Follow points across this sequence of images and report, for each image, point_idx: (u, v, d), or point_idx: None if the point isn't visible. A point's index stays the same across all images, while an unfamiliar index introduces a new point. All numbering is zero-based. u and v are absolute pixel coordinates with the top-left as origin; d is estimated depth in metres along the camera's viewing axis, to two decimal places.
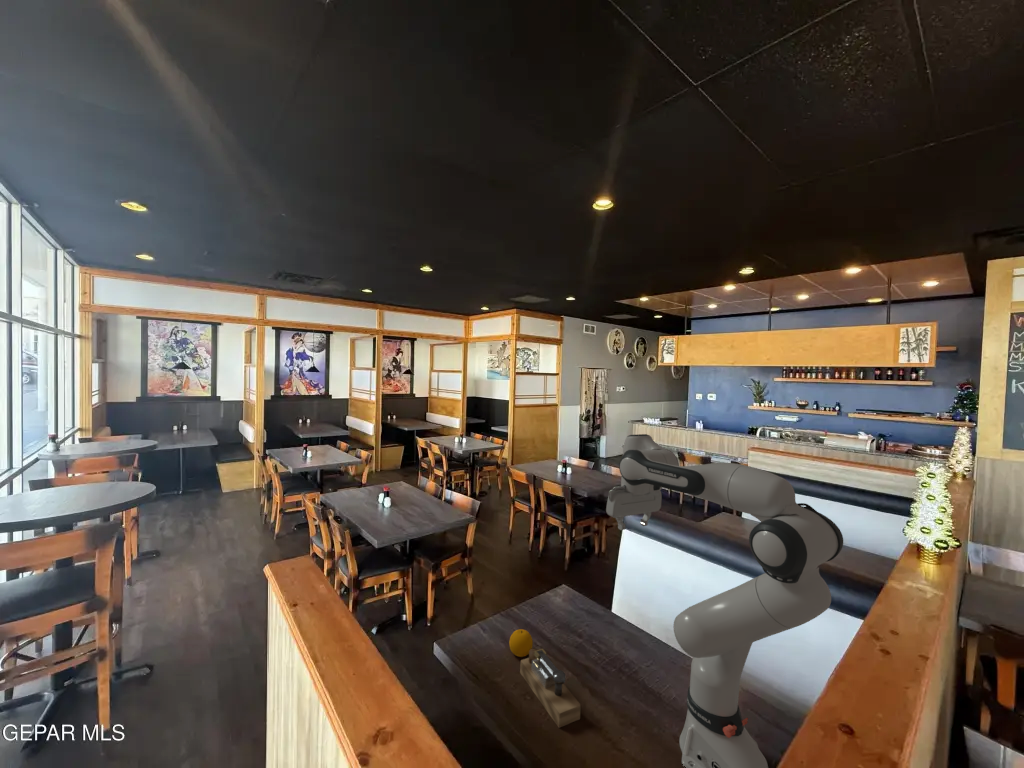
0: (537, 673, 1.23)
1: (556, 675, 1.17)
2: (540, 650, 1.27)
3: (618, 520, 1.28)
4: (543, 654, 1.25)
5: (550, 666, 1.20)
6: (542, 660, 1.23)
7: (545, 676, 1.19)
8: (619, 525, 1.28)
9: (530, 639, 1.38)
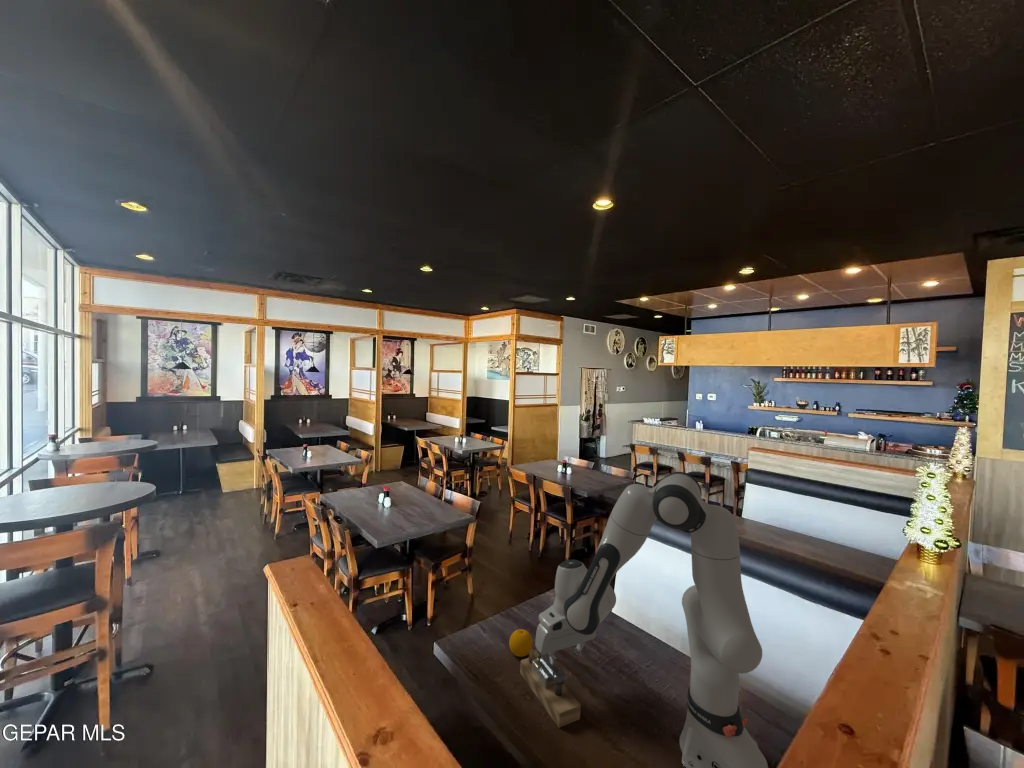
0: (537, 673, 1.23)
1: (556, 675, 1.17)
2: None
3: None
4: None
5: (550, 666, 1.20)
6: (542, 660, 1.23)
7: (545, 676, 1.19)
8: None
9: (530, 639, 1.38)
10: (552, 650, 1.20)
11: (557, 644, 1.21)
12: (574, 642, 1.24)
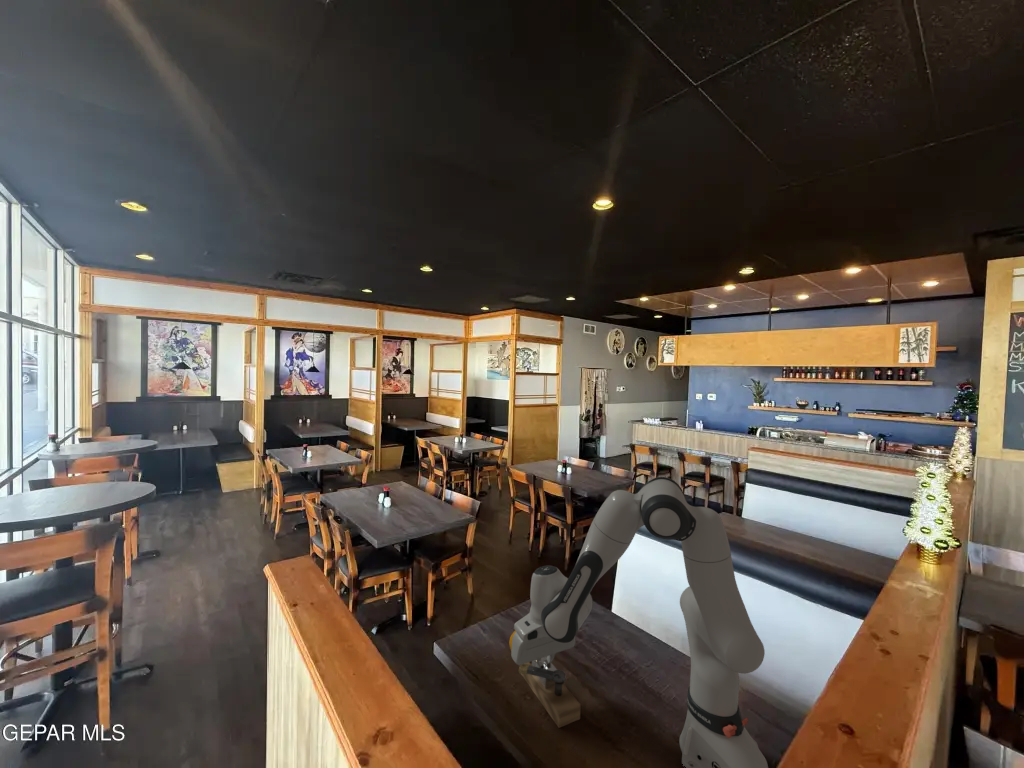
0: None
1: (558, 676, 1.16)
2: (522, 664, 1.20)
3: None
4: (528, 666, 1.20)
5: (545, 672, 1.18)
6: (532, 672, 1.18)
7: None
8: None
9: None
10: (528, 660, 1.17)
11: (533, 654, 1.17)
12: (552, 651, 1.20)
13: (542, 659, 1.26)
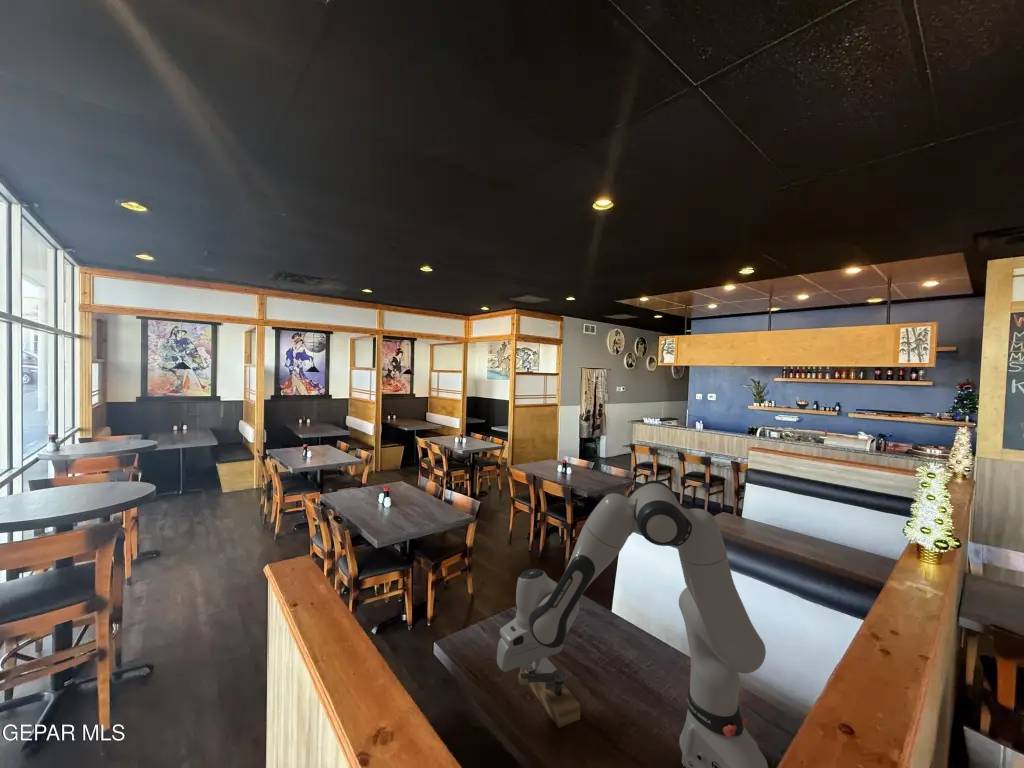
0: None
1: (559, 676, 1.16)
2: (520, 675, 1.16)
3: None
4: (527, 675, 1.16)
5: (546, 676, 1.16)
6: (533, 680, 1.15)
7: None
8: None
9: None
10: (514, 666, 1.14)
11: (519, 660, 1.15)
12: (539, 656, 1.18)
13: (542, 659, 1.26)
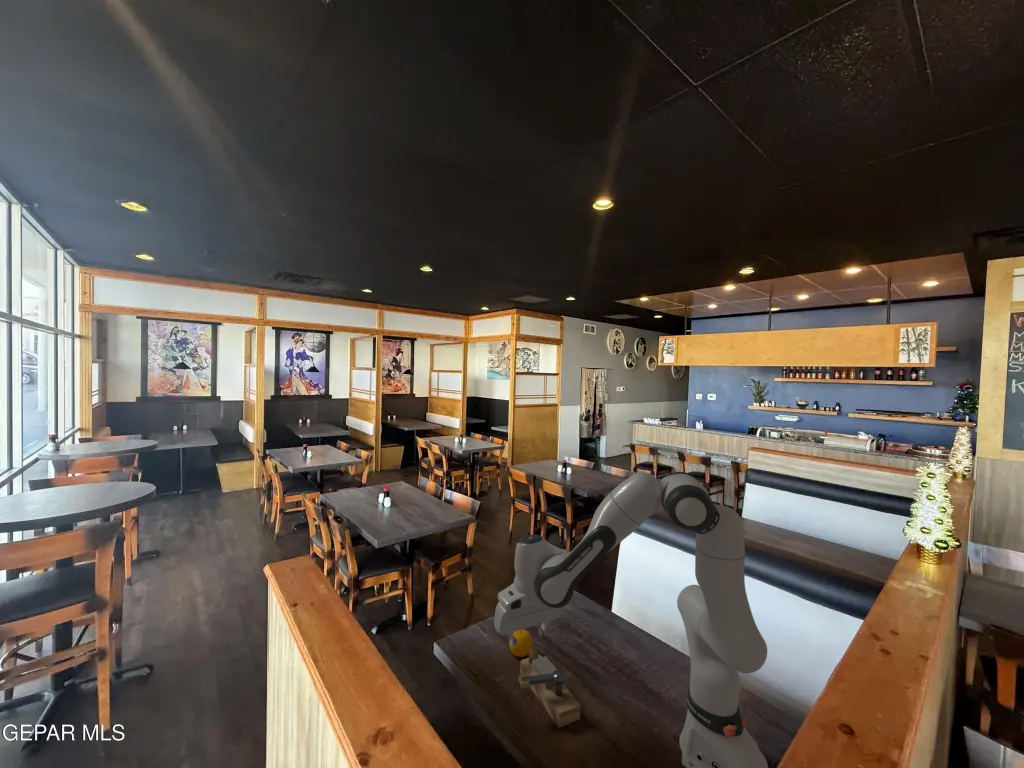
0: (537, 673, 1.23)
1: (560, 676, 1.16)
2: (521, 678, 1.15)
3: None
4: (528, 677, 1.15)
5: (546, 677, 1.16)
6: (534, 682, 1.15)
7: None
8: None
9: (530, 639, 1.38)
10: (512, 630, 1.13)
11: (517, 624, 1.14)
12: (537, 621, 1.17)
13: (542, 659, 1.26)
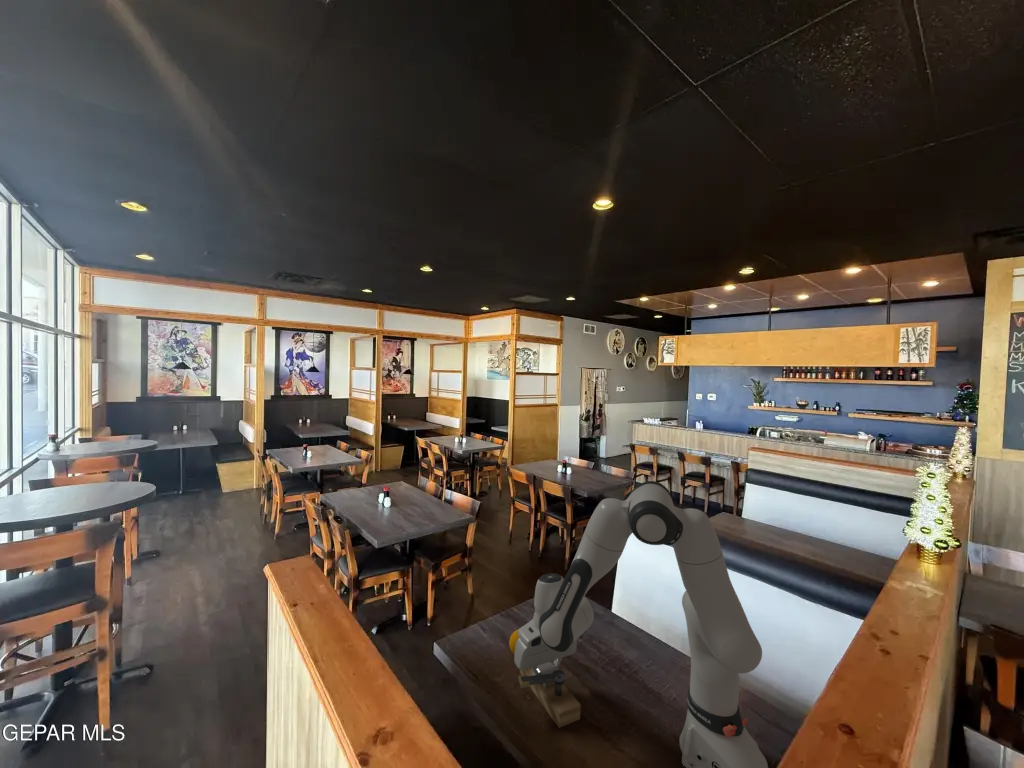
0: None
1: (560, 676, 1.16)
2: (521, 678, 1.15)
3: None
4: (528, 677, 1.15)
5: (546, 677, 1.16)
6: (534, 682, 1.15)
7: None
8: None
9: None
10: (531, 666, 1.19)
11: (536, 660, 1.19)
12: (554, 657, 1.22)
13: None
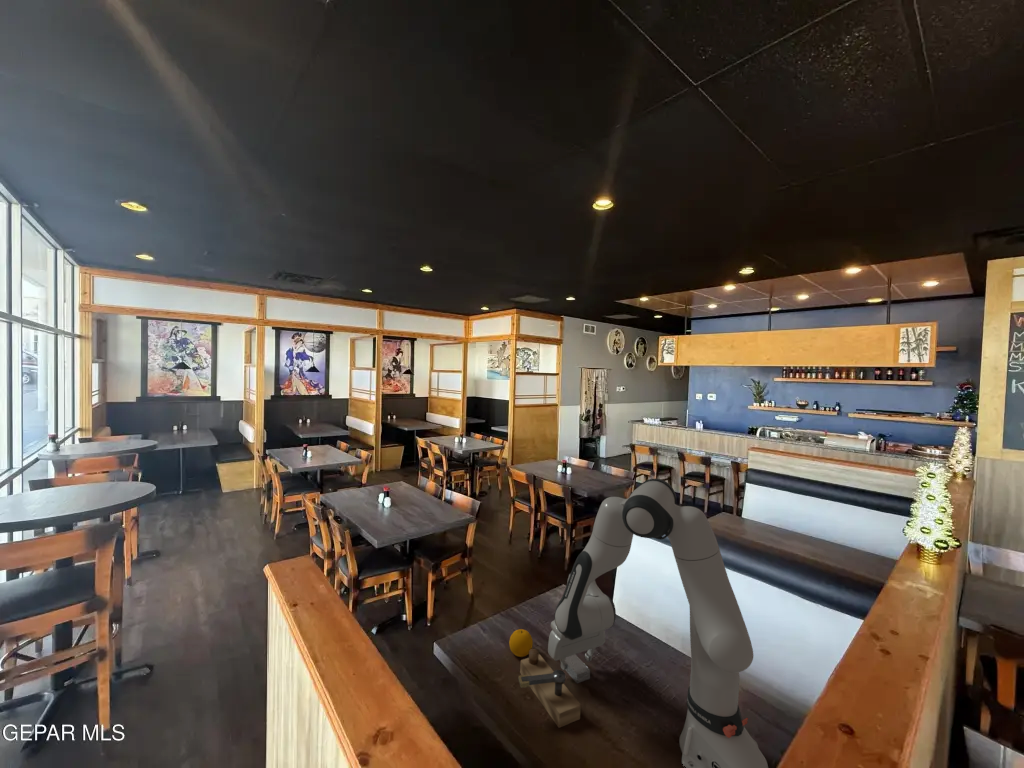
0: (568, 670, 1.30)
1: (560, 676, 1.16)
2: (521, 678, 1.15)
3: None
4: (528, 677, 1.15)
5: (546, 677, 1.16)
6: (534, 682, 1.15)
7: (576, 673, 1.27)
8: None
9: (530, 639, 1.38)
10: (564, 656, 1.26)
11: (568, 650, 1.27)
12: (585, 648, 1.30)
13: (572, 657, 1.34)
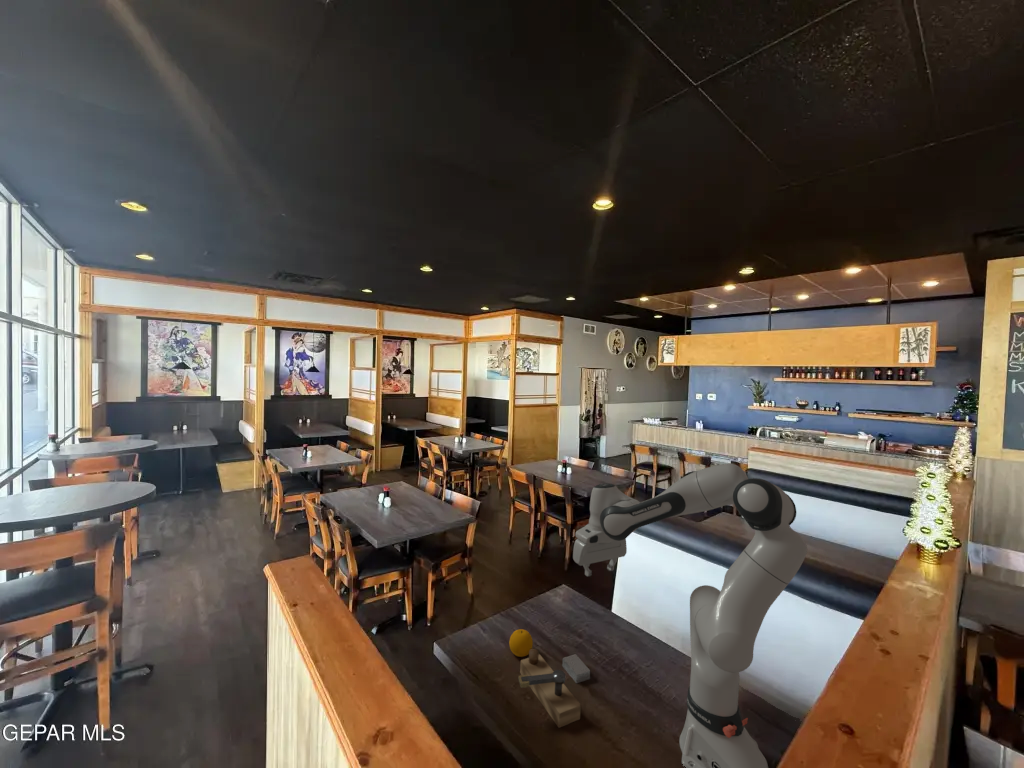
0: (568, 670, 1.31)
1: (560, 676, 1.16)
2: (521, 678, 1.15)
3: None
4: (528, 677, 1.15)
5: (546, 677, 1.16)
6: (534, 682, 1.15)
7: (576, 673, 1.27)
8: None
9: (530, 639, 1.38)
10: (588, 562, 1.33)
11: (592, 557, 1.33)
12: (608, 556, 1.36)
13: (572, 657, 1.34)
